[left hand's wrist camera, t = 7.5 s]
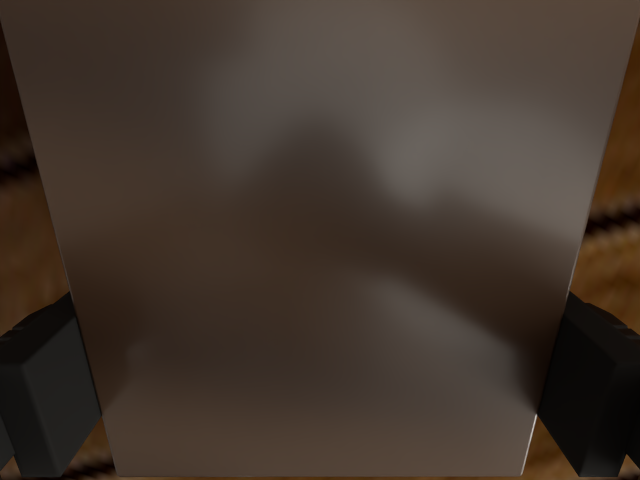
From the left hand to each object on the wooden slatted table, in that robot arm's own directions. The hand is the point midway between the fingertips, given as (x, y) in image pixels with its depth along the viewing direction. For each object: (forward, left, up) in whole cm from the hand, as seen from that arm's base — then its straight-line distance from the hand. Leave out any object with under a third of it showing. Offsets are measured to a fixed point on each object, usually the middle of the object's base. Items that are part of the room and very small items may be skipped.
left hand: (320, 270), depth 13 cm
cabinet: (+2, +5, -4) cm, 7 cm away
